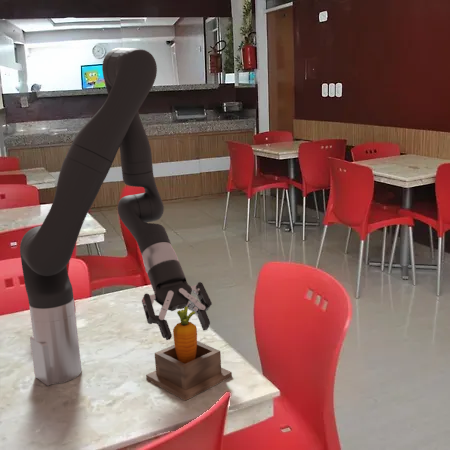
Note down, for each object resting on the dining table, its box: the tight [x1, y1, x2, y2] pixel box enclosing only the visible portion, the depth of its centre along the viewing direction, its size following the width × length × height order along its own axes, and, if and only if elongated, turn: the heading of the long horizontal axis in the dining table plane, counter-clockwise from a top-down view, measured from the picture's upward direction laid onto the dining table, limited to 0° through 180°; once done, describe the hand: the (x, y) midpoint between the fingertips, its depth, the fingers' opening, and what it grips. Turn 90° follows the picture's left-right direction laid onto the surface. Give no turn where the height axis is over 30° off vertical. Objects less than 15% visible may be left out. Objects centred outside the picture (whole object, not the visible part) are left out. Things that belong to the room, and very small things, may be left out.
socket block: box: [145, 340, 233, 402], centre depth 117 cm, size 13×13×6 cm
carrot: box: [172, 307, 198, 364], centre depth 115 cm, size 5×5×15 cm
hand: (188, 333), depth 114 cm, fingers open, 8 cm apart
